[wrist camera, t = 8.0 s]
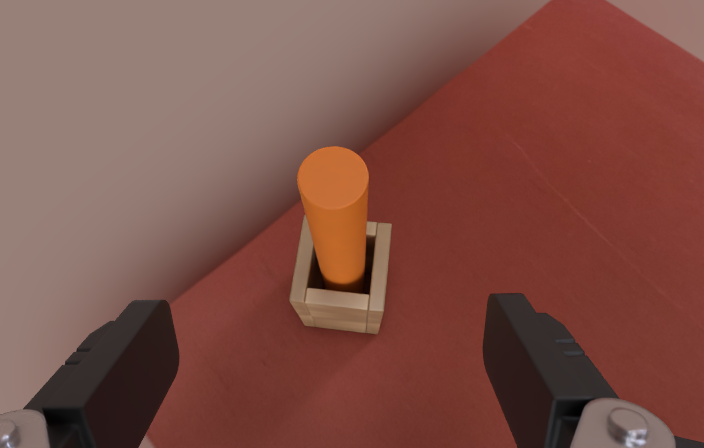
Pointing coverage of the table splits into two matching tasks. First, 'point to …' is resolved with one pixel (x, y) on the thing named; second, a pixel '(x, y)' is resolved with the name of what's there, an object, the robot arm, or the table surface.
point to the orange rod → (337, 214)
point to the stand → (337, 305)
